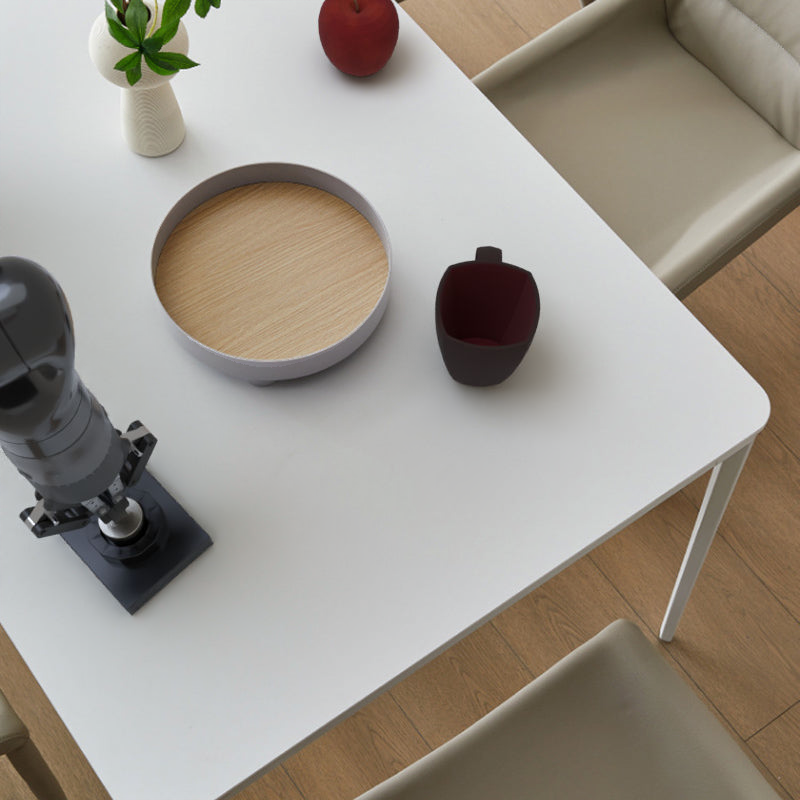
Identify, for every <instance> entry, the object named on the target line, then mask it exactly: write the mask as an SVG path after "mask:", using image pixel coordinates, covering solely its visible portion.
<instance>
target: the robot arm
mask: <svg viewBox="0 0 800 800" xmlns="http://www.w3.org/2000/svg"><path fill="white" fill-rule="evenodd" d="M75 359H76V335H75V325H74V319H73V314H72V310H71V307H70V303H69V300H68V299H67V296H66V294H65V292H64V290H63V288H62V286H61V284H60V283H59V280H57V278H55V276H54V275H53V273H51V272H50V271H49V270H48V269H47V268H46V267H44V266H43V265H41V264H40V263H39V262H37V261H36V260H34V259H30V258H28V257H25V256H22V255H21V256H20V255H13V254H9V255H2V256H0V447H1V450H2V451H3V454H5V455H4V456H6V458H7V459H8V460H9V462H11V464H12V465H14V467H15V468H16V469H17V472H18V473H19V474H20V475H21V476H22V477H24V478H25V480H27V481H28V482H29V483H30V485H31V486H32V487H33V488H34V489H35V490H34V498H35V500H36V501H37V503H36V505H34V506H29V507H26V508H24V509H22V511H21V512H20V513H19V515H18V518H20V520H21V522H22V523H24V525H25V526H26V527H27V529H28V530H29V531H30V532H31V533H32V534H33V535H34V536H35V537H36V539H38V540H39V539H43V538H48V537H51V536H55V535H59V534H60V533H64V532H69V531H73V530H77V529H81V528H84V527H85V526H87V525H88V524H89V523H90V521H91V518H90V517H91V516H93V515H97V516H98V517H99V519H100V520H101V521H102V522H103V523H104V524H108V523H110V522H111V521H113V522H114V524H116V523H117V522H119V521H120V520H121V518H123V517H125V516H126V515H127V514H128V513H127V512H126V510H125V509H126V508H128V507H129V501H128V500H127V498H126V497H125V494H124V490H125V488H126V487H127V486H128V487H129V488H131V487H133V486H135V485H136V484H137V483H138V482H139V480H140V478H141V476H142V473H143V471H144V469H145V468H146V467H147V465H148V462H149V460H150V458H151V456H152V455H153V452H154V450H155V448H156V445H157V444H158V441H159V440H158V438H157V437H156V436H155V435H154V434H153V433H152V432H151V431H150V430H149V429H148V428H147V427H146V426H145V425H144V424H143V423H142V422H141V421H140V419H136V420H134V421H132V422H130V424H129V425H128V427H127V429H126V431H125V432H124V433H123V432H122V431H121V429H118V428H115V427H114V425H113V423H112V421H111V420H110V418H109V414H108V412H107V411H106V409H105V407H104V405H102V403H100V401H99V400H98V399H97V397H96V396H95V395H94V393H93V392H92V391H91V390H90V389H89V388H88V387H87V386H86V384H85V383H84V382H83V380H82V378H81V376H80V375H79V374H78V372H77V370H76V368H75V365H76V364H75ZM127 461H128V462H129V463H130V464H131V468H130V467H129V466H128V465H127V464H126V463H127ZM65 513H67V514H68V515H69V516H70V517H71V518H70V517H68V516H67V515H66V514H65ZM119 516H120V517H121V518H120V517H119Z"/></svg>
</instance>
